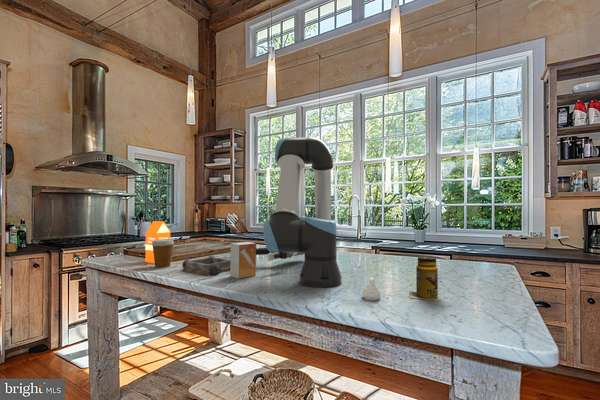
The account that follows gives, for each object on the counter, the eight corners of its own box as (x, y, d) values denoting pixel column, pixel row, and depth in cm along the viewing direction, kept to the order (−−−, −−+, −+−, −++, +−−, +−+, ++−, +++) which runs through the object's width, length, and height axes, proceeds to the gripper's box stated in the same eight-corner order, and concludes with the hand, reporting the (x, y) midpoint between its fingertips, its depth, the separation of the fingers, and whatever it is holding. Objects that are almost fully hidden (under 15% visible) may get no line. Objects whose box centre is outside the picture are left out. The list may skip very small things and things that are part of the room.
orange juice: (156, 263, 147) (156, 221, 148) (145, 261, 152) (145, 221, 152) (170, 261, 154) (170, 221, 154) (159, 259, 159) (159, 220, 159)
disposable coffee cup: (168, 268, 135) (168, 241, 136) (146, 268, 135) (147, 241, 136) (177, 264, 145) (177, 239, 145) (157, 264, 145) (157, 239, 145)
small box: (238, 279, 116) (238, 244, 116) (229, 276, 121) (230, 243, 121) (256, 275, 122) (256, 242, 122) (247, 273, 126) (247, 241, 126)
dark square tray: (245, 268, 136) (245, 259, 136) (211, 276, 120) (211, 266, 121) (215, 263, 147) (215, 255, 148) (180, 270, 132) (180, 260, 132)
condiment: (440, 301, 89) (440, 260, 90) (409, 298, 92) (409, 258, 92) (437, 294, 96) (437, 256, 97) (408, 292, 99) (408, 254, 99)
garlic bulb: (382, 280, 90) (364, 280, 90) (382, 300, 90) (364, 301, 90) (377, 276, 95) (359, 276, 95) (377, 295, 95) (359, 295, 95)
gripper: (308, 260, 138) (279, 268, 120) (266, 255, 152) (234, 261, 135) (308, 243, 138) (279, 249, 121) (266, 240, 152) (234, 244, 135)
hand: (255, 255), depth 128 cm, fingers open, 13 cm apart
